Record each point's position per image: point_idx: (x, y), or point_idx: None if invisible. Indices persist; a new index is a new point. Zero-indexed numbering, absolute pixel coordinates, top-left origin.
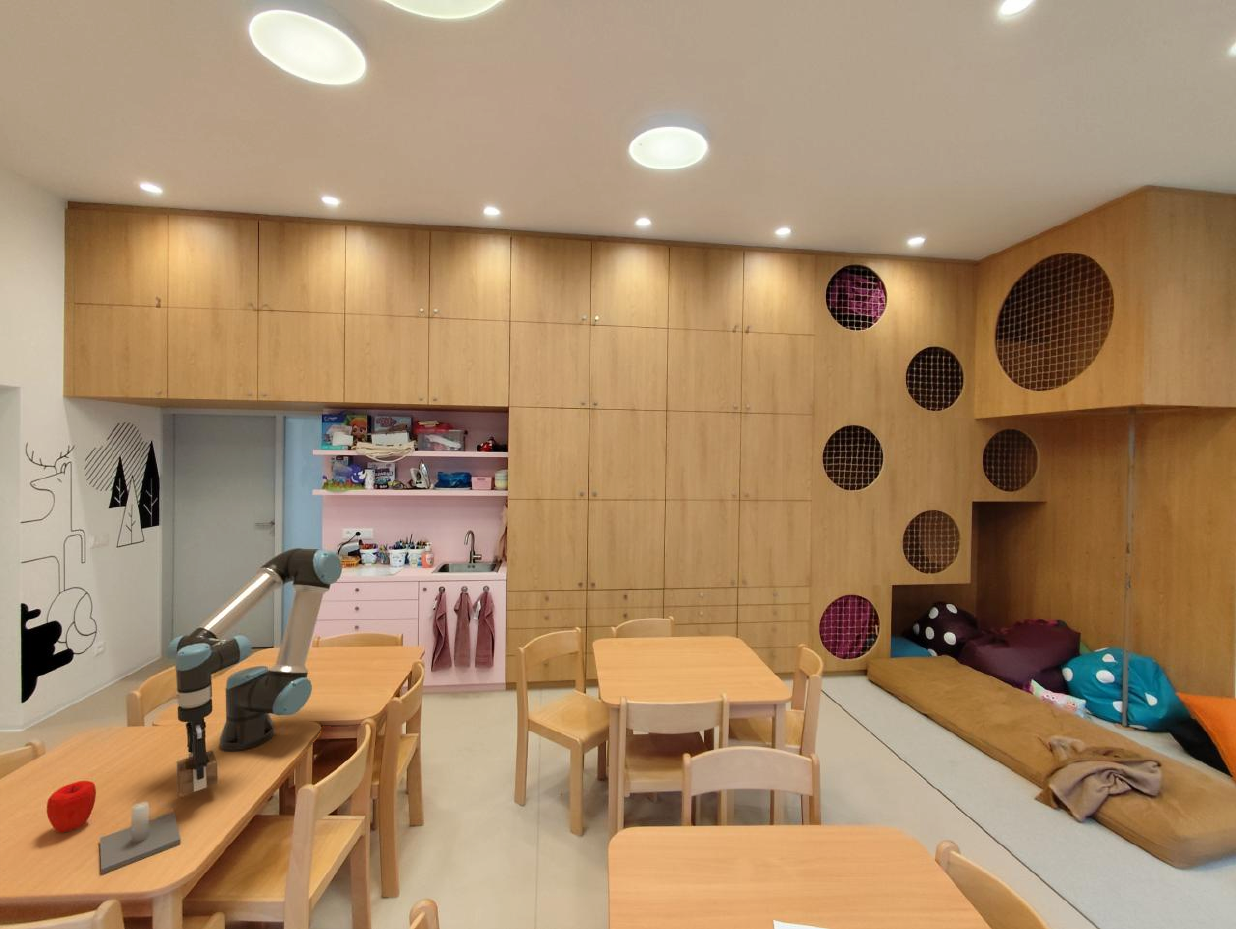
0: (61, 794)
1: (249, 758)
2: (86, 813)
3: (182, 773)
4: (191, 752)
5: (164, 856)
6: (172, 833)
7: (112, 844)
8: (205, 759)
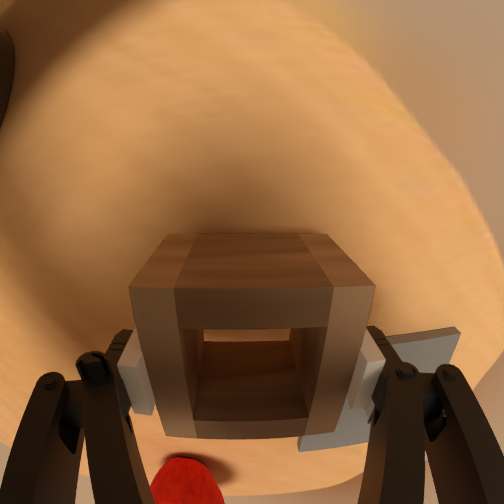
0: None
1: (69, 79)
2: (208, 482)
3: (330, 426)
4: (130, 406)
5: (461, 349)
6: (428, 349)
7: (349, 435)
8: (472, 399)
